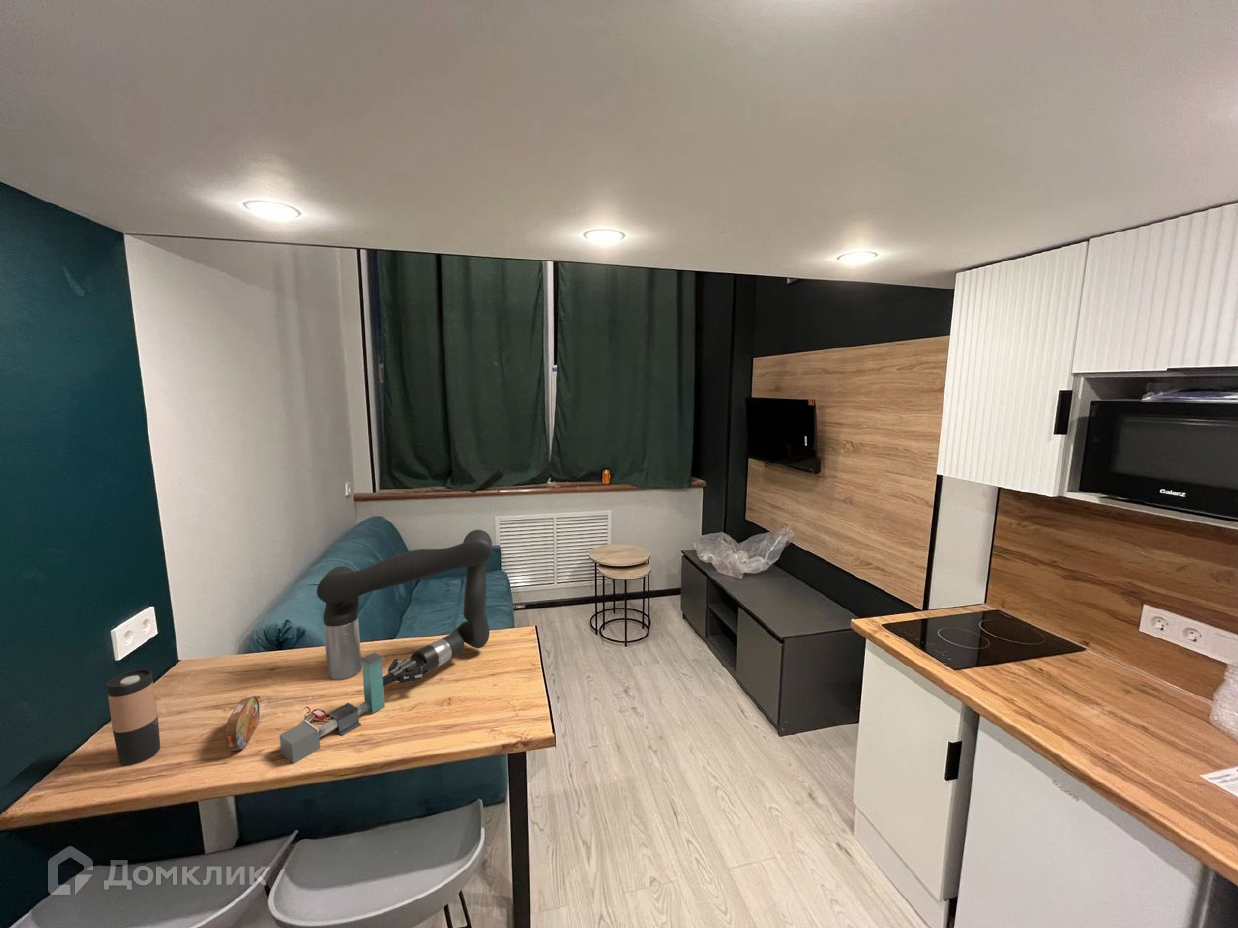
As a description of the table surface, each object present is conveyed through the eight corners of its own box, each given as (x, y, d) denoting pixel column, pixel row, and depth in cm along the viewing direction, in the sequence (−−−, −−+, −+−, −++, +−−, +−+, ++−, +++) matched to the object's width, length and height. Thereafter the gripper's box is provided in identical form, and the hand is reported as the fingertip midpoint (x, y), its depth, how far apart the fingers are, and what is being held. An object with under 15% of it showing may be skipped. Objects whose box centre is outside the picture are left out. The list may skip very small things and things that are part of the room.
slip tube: (310, 738, 123) (306, 684, 121) (377, 701, 138) (374, 652, 136) (319, 744, 121) (315, 689, 119) (386, 706, 136) (383, 656, 134)
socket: (280, 753, 119) (278, 733, 118) (307, 738, 124) (305, 719, 123) (294, 763, 115) (292, 743, 114) (320, 748, 120) (319, 729, 119)
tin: (240, 756, 117) (236, 724, 116) (224, 759, 116) (220, 727, 115) (262, 717, 131) (259, 688, 130) (248, 720, 130) (244, 691, 129)
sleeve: (328, 726, 128) (327, 711, 127) (347, 716, 132) (346, 701, 132) (342, 735, 125) (340, 720, 124) (361, 724, 129) (360, 709, 128)
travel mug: (137, 744, 121) (126, 669, 118) (170, 742, 122) (160, 667, 119) (108, 767, 114) (95, 687, 111) (143, 765, 114) (132, 686, 111)
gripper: (417, 638, 154) (364, 664, 139) (446, 650, 147) (393, 678, 132) (419, 661, 155) (366, 688, 140) (447, 673, 148) (394, 704, 133)
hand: (379, 683), depth 136 cm, fingers closed
